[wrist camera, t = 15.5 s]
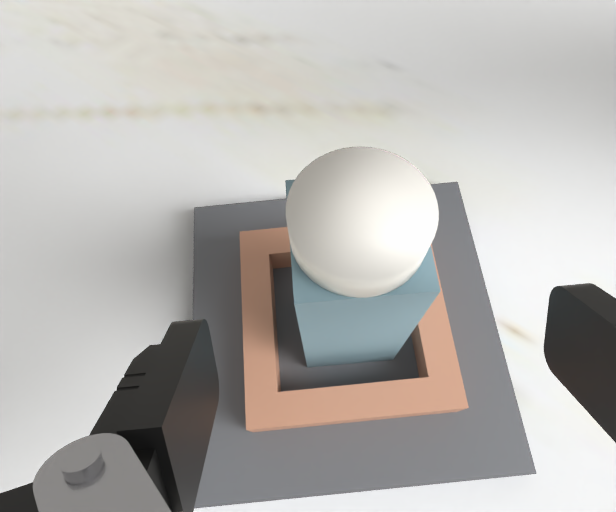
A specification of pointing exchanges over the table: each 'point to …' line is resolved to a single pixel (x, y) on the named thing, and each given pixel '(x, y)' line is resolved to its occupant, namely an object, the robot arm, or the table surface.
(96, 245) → the table surface
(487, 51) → the table surface
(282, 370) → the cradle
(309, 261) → the ball-topped blue post
